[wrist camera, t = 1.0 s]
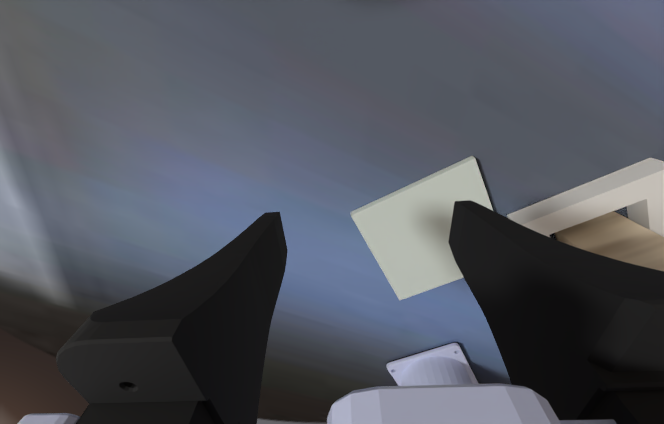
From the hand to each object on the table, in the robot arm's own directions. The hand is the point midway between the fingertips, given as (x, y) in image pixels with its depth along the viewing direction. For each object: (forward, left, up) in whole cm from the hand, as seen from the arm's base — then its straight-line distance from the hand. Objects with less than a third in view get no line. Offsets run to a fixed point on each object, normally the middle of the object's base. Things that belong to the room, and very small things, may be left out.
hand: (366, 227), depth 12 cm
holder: (-15, -13, -11) cm, 23 cm away
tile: (-9, -2, -11) cm, 14 cm away
